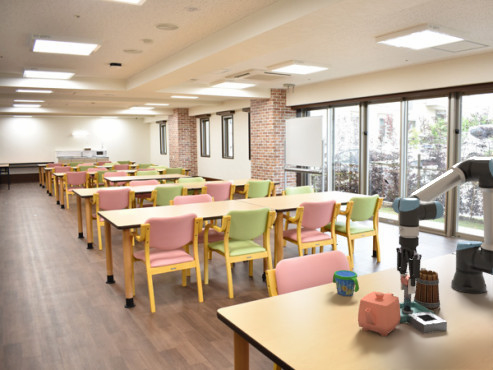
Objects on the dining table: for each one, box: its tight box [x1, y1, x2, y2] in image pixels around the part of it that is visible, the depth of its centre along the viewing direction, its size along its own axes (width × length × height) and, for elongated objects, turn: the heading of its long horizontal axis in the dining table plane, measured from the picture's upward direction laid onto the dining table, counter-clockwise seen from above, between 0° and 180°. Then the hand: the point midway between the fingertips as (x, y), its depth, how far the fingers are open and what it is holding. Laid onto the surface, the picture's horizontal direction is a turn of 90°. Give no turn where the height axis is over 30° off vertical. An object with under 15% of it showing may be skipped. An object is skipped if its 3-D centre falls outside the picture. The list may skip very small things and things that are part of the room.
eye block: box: [406, 312, 448, 335], centre depth 159 cm, size 10×10×4 cm
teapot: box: [357, 291, 401, 337], centre depth 157 cm, size 22×13×14 cm, turn 138°
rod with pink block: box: [400, 275, 413, 315], centre depth 170 cm, size 4×4×15 cm
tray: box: [399, 300, 436, 324], centre depth 171 cm, size 16×13×2 cm
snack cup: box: [332, 269, 360, 297], centre depth 195 cm, size 16×10×10 cm
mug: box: [413, 267, 441, 311], centre depth 182 cm, size 16×11×15 cm
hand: (407, 291), depth 170 cm, fingers open, 4 cm apart
